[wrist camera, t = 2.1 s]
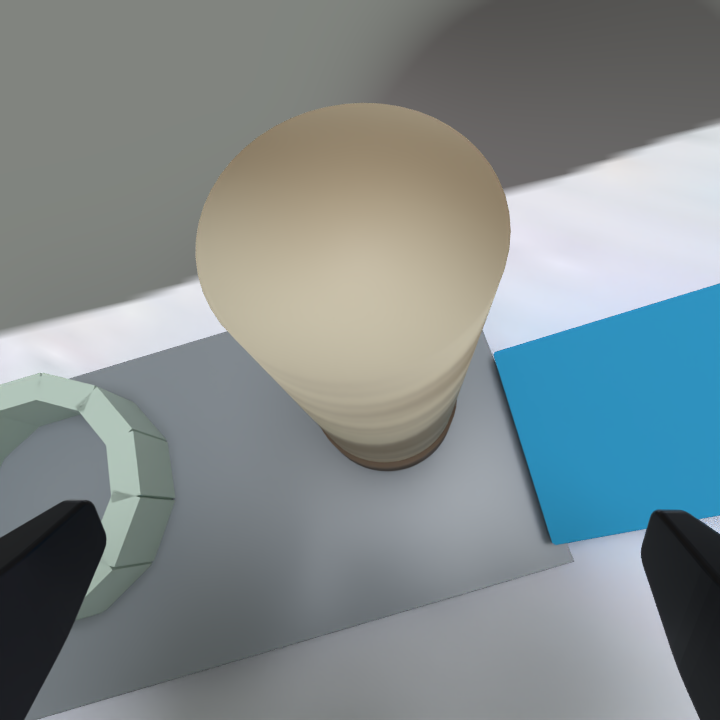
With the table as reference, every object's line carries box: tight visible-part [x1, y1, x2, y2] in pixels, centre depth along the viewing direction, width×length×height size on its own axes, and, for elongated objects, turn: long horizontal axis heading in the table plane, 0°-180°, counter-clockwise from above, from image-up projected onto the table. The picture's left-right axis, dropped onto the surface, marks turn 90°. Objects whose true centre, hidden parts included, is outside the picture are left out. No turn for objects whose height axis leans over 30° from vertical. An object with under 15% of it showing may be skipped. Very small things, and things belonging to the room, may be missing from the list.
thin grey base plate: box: [0, 330, 574, 720], centre depth 18 cm, size 22×12×4 cm, turn 106°
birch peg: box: [196, 103, 511, 471], centre depth 13 cm, size 5×5×12 cm
